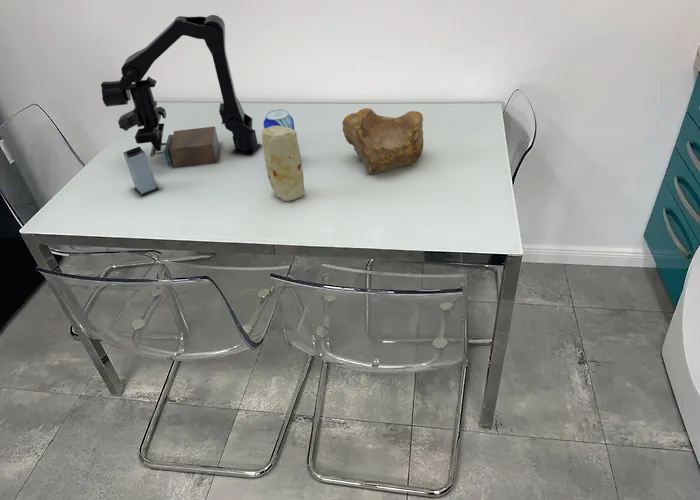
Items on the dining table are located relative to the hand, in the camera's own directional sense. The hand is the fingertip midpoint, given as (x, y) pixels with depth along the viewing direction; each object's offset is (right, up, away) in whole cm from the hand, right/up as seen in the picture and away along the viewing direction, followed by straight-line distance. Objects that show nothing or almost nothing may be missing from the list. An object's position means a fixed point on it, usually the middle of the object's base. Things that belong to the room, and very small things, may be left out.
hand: (158, 150), depth 172 cm
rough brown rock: (+68, -6, -9) cm, 69 cm away
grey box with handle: (0, -13, -12) cm, 18 cm away
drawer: (+6, -1, +2) cm, 7 cm away
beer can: (+39, -5, -5) cm, 40 cm away
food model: (+42, -16, -19) cm, 48 cm away
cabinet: (+11, -1, +3) cm, 11 cm away
